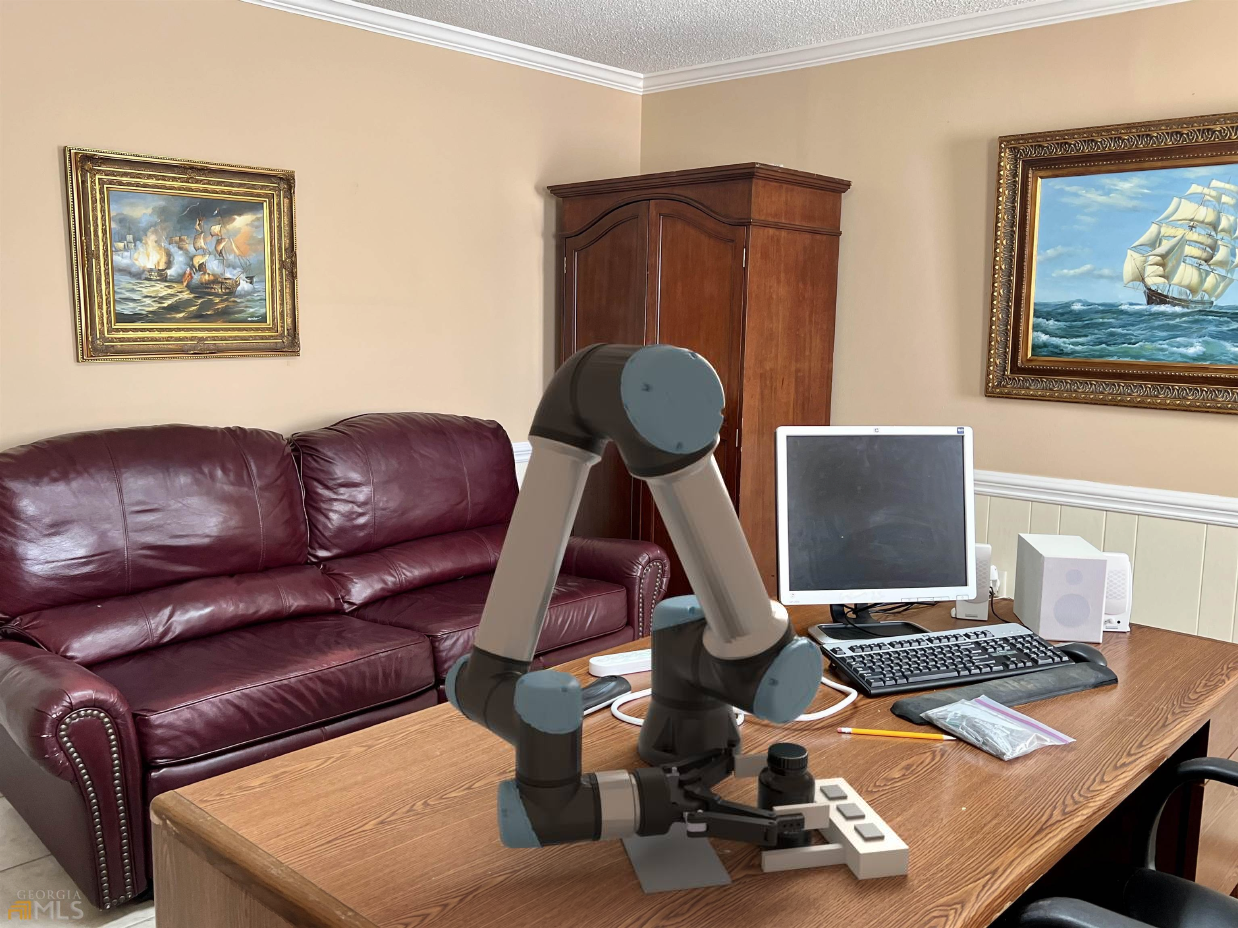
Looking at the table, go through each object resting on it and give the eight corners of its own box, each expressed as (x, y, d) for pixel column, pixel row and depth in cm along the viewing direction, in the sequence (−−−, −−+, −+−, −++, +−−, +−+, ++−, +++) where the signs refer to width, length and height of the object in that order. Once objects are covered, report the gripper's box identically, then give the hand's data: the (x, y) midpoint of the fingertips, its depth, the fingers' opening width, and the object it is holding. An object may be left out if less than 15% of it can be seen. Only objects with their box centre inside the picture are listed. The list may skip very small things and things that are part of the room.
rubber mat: (618, 830, 124) (618, 826, 124) (695, 822, 126) (696, 818, 126) (644, 893, 110) (644, 889, 110) (731, 883, 112) (731, 879, 112)
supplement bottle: (799, 865, 116) (803, 767, 114) (746, 848, 120) (748, 753, 118) (821, 839, 122) (825, 746, 120) (769, 824, 125) (772, 733, 124)
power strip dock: (725, 811, 129) (725, 785, 128) (841, 800, 132) (842, 774, 131) (775, 889, 111) (776, 858, 111) (907, 873, 114) (909, 844, 114)
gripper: (610, 784, 128) (767, 770, 133) (658, 893, 104) (848, 871, 109) (611, 728, 127) (769, 716, 132) (659, 825, 103) (851, 806, 107)
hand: (805, 786), depth 120 cm, fingers open, 13 cm apart
